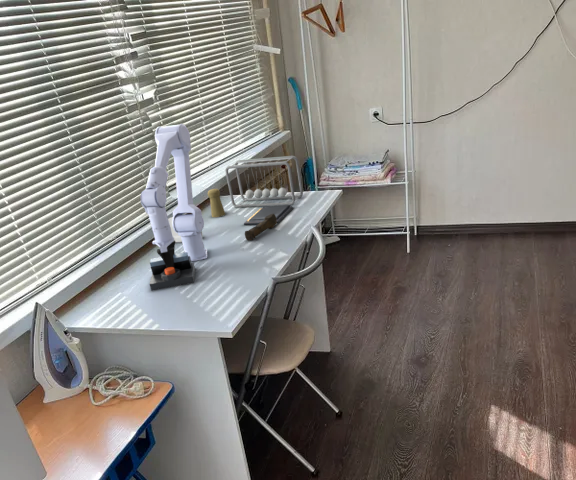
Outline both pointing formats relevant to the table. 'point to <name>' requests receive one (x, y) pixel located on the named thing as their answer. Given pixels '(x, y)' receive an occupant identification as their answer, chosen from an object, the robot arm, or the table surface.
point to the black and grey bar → (180, 262)
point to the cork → (216, 203)
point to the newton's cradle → (265, 192)
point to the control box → (172, 279)
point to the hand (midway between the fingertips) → (171, 266)
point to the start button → (169, 270)
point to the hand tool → (261, 227)
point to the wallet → (265, 211)
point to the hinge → (174, 234)
